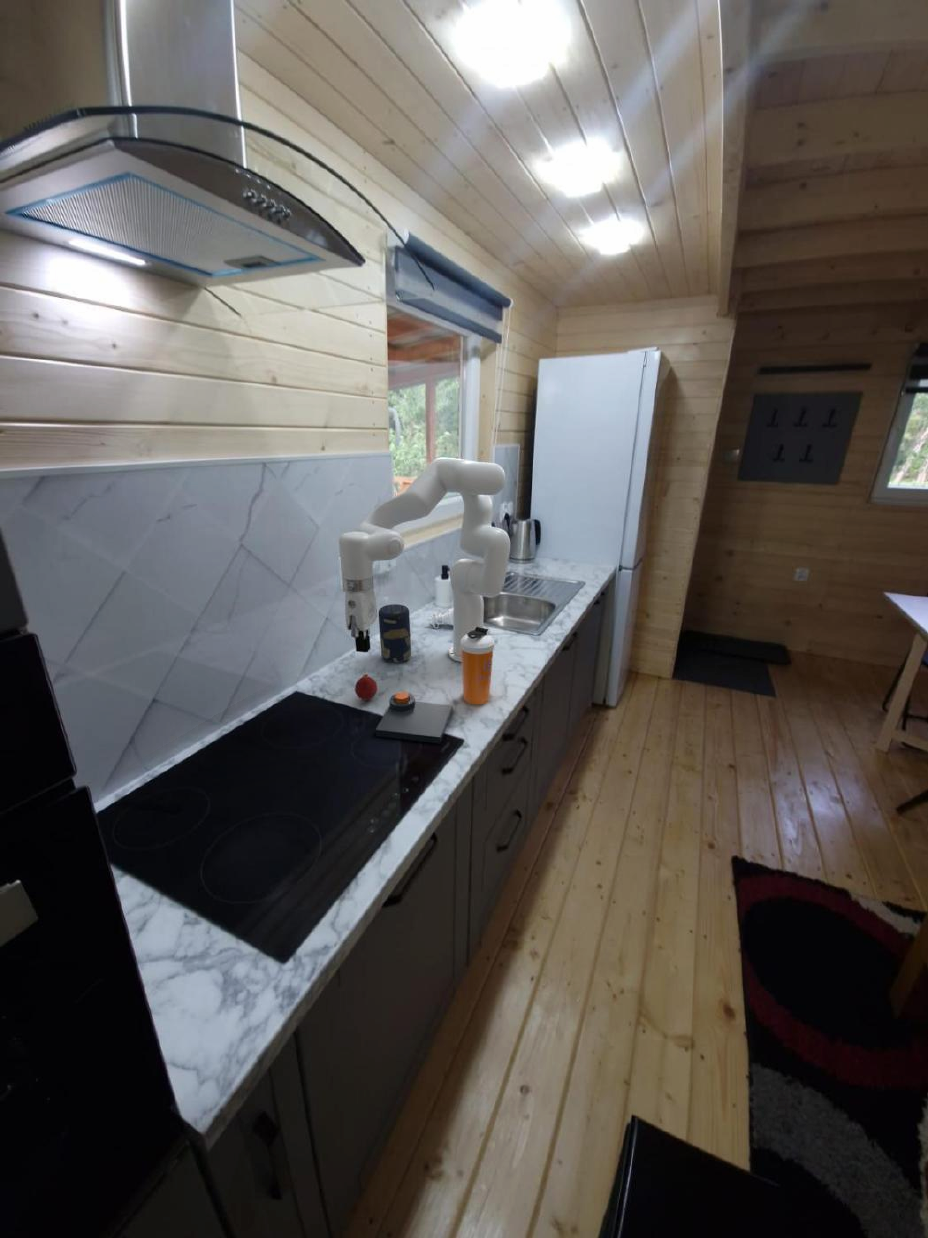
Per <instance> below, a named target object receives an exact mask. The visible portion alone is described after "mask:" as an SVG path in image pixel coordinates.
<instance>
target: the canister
mask: <svg viewBox="0 0 928 1238" xmlns="http://www.w3.org/2000/svg"><path fill="white" fill-rule="evenodd" d="M410 618H411V617H410V609H409V608H408V607H407V606H406V605H403V604H397V603H392V604H391V603H390V604H387V605H383V606H382V607H380V608H379V609H378V624H379V625H378V628H379V642H380V644H379V645H380V655H381V659H383V660H384V661H386V662H388V663H402V662H405V661H406V660H408V659H410V658H411V656H412V639H411V637H412V634H411V619H410Z"/></svg>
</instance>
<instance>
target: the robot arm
mask: <svg viewBox="0 0 928 1238" xmlns="http://www.w3.org/2000/svg"><path fill="white" fill-rule="evenodd" d="M506 479H507V477H506V473H505V471H504V468H503V467H502V465H500V464H498V463H495V462H487V461H485V462H484V461H477V460H470V459H464V458H453V457H437V458H435V459H433V460H432V461H431V462H429V464H427V466H426V467H425V468H423V470H422V471H421V473H419V475H418V476H416V478H415V479H414V480H413V481H412V482H411V484H410V485H409V486H408V487H407V488H406V489H405V490H404V491H403V492H401V493H400V494H398V495H395V496H393V497H392V498H390V499H388V500H386V501H384V502H383V503H381V504H379V505H378V506H376V507H375V508H374V509H373V510H372V511H370V512H369V513H368V515H366V517H364V519H363V520H362V521H361V522H360V523H359V525H358V526H357V527H356V529H355V531H349V532H345V533H342V534H341V535H340V536H339V538H338V545H339V546H338V547H339V558H340V559H339V560H340V569H341V579H342V580H341V581H342V590H343V592H344V614H345V626H346V629H347V630H348V631H350V637H352V638H354V643H355V651H356V652H357V653H368V652H369V651H370V650H371V637H370V634H371V627H372V625H373V624H374V623H375V622H376V621H377V619H378V608H377V599H376V592H375V582H374V581H375V580H374V564H373V562H378V561H382V562H383V561H392V560H394V559H396V558H398V557H400V555H402V553H403V551H404V550H405V549H404V548H405V541H404V538H403V537H402V535H401V534H400V533H398V531H395V530H393V529H394V527H397V526H399V525H401V524H404V523H407V522H412V521H417V520H420V519H424V518H426V517H428V516H429V515H430V514H431V513H432V511H433V510H434V509H435V508H436V507H437V506H438V505H439V503H440V502H441V501H442V500H443V499H444V498H445V496H446V495H447V494H448V493H455V494H460V496H461V498H462V500H463V517H462V524H461V530H460V531H461V532H460V538H459V545H460V546H459V547H460V549H461V551H462V552H463V553H464V554H466V555H470V556H472V557H477V558H481V559H483V562H482V561H479V560H475V559H471V558H460V559H458V560H456V561H455V562H454V563H453V564H452V566H451V568H450V572H449V579H450V586H451V591H452V598H453V599H452V600H453V602H452V603H453V604H452V605H453V607H452V608H453V626H452V628H453V631H452V632H453V633H452V636H453V638H452V639H453V641H452V642H453V644H452V646H451V647H450V648H449V649H448V656H449V658H451V659H452V660H453V661H455V662H459V663H462V649H461V639H462V638H463V636H465V635H466V634H468V633H469V632H471V631H473V630H474V629H475V627H480V628H484V617H485V616H484V614H485V613H484V612H485V611H484V610H485V604H484V603H485V602H484V597H485V598H490V599H492V598H496V597H497V596H499V595H500V593H502V590H503V588H504V585H505V581H506V578H507V570H508V566H509V560H510V553H511V540H510V536H509V534H508V532H506V530H504V529H503V528H499V527H496V526H492V521H493V514H494V513H493V512H494V507H493V506H494V505H493V501H492V497H491V496H495V495H498V494H499V493H500V492H501V491H502V490H503V489H504V487H505V484H506Z"/></svg>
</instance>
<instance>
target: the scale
mask: <svg viewBox="0 0 928 1238" xmlns="http://www.w3.org/2000/svg"><path fill="white" fill-rule="evenodd" d="M407 693H408V694H409V701H408V702H407V703H402V704H401V703H396V702H395V694H393V695H390V697H389V699H388V704H389V706H388V708H387V710H386V711H385V713H384V715H383V716H382V718H381V720H380V721H379V723H378V725H377V726H376V727H375V737H381V738H389V739H398V740H406V741H414V742H422V743H423V742H424V743H429V744H437V745H438V744H439V745H440V744H441V743H442V741H443V738H444V736H445V732H446V730H447V728H448V725H449V722H450V720H451V717H452V714H453V705H449V704H441V703H432V702H431V703H430V702H421V701H416V698H415V696H414V695H413V694H411V693H409V692H407Z"/></svg>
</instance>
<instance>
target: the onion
mask: <svg viewBox="0 0 928 1238" xmlns="http://www.w3.org/2000/svg"><path fill="white" fill-rule="evenodd" d="M377 691H378V685H377V681H376V680H374V679H373V678H372V677H370V676H369V674H368V673H363V675H362V677H360V678H359V679H358V680H357V681H356V683H355V686H354V692H355V695H356V696H357V697H358V698H359V699H360V700H363V701H366V702H367V701H369V700H371V699H373V698H374V696H375V695H376V694H377Z"/></svg>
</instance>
